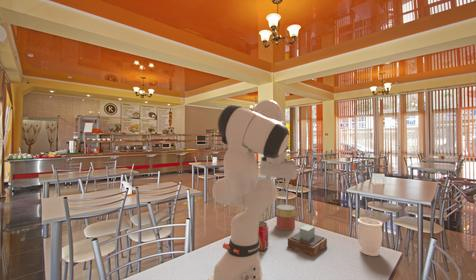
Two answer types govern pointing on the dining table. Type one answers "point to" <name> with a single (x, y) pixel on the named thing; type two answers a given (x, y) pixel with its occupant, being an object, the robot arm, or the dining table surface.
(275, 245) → the dining table surface
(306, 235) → the pale green block
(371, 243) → the jar
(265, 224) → the beverage can
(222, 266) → the robot arm
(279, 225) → the canned food
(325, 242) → the walnut picture frame
